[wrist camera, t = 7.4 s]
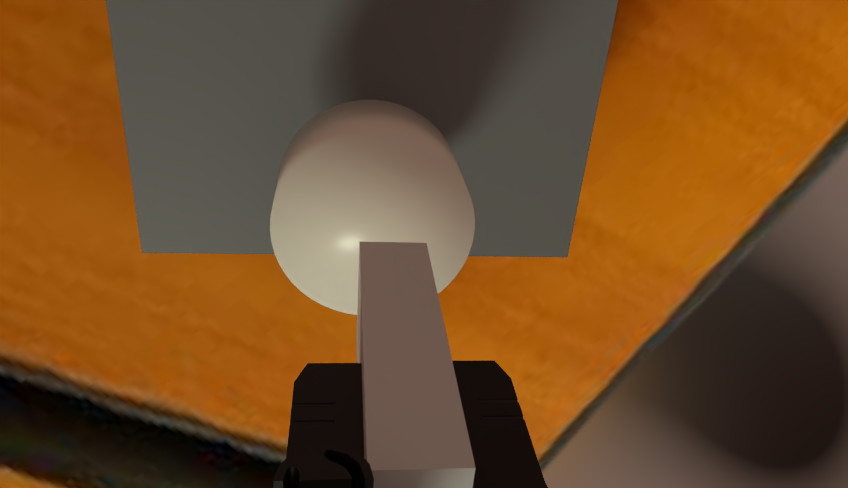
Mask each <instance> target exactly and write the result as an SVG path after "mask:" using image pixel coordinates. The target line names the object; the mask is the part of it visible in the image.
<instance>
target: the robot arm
mask: <svg viewBox="0 0 848 488" xmlns="http://www.w3.org/2000/svg"><path fill="white" fill-rule="evenodd" d="M356 344H357V363H308V364H307V365H306V367H305V368H304V369H303V371H302V372H301V373H300V375H299V376H298V378H297V379H296V380H295V382H294V390H293V400H292V409H291V419H290V428H289V438H288V447H287V457H286V460H285V461H284V462H283V463H282V464H281V465H280V466H279V467H278V470H277V473H276V475H275V478H274V481H273V485H274V488H548V487H547V485H546V483H545V481H544V478H543V475H542V472H541V469H540V466H539V463H538V460H537V457H536V454H535V451H534V448H533V445H532V442H531V438H530V435H529V432H528V429H527V426H526V423H525V420H523V414H522V411H521V408H520V405H519V403H518V402H517V396H516V393H515V390H514V387H513V383H512V380H511V378H510V377H509V376H508V375H507V374H506V373H505V372H504V370H503V369H502V368H501V367H500V366H499V365H498V364H497V363H496V362H495V361H452V357H451V353H450V348H449V344H448V339H447V334H446V330H445V325H444V321H443V316H442V311H441V307H440V302H439V298H438V293H437V289H436V284H435V279H434V275H433V270H432V266H431V261H430V256H429V252H428V247H427V243H413V242H360V243H359V275H358V307H357V339H356Z"/></svg>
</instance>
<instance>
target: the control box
mask: <svg viewBox="0 0 848 488" xmlns="http://www.w3.org/2000/svg"><path fill="white" fill-rule="evenodd" d="M106 4H107V11H108V18H109V25H110V32H111V39H112V46H113V53H114V60H115V67H116V74H117V81H118V88H119V95H120V102H121V109H122V116H123V123H124V130H125V137H126V144H127V151H128V158H129V165H130V172H131V179H132V186H133V193H134V200H135V207H136V214H137V221H138V228H139V235H140V242H141V249H142V253H217V254H275V253H274V250H273V246H272V242H271V235H270V216H271V211H272V206H273V201H274V196H275V191H276V187H277V182H278V177H279V172H280V168H281V163H282V160H283V157H284V154H285V152H286V150H287V148H288V146H289V144H290V142H291V141H292V139H293V138H294V136H295V135H296V134H297V132H298V131H299V130H300V129H301V128H302V127H303V126H304V125H305V124H306V123H307V122H309V121H310V120H311V119H312V118H314V117H315V116H316V115H318V114H320V113H321V112H323V111H325V110H327V109H329V108H331V107H334V106H336V105H339V104H343V103H346V102H351V101H357V100H381V101H388V102H392V103H396V104H400V105H402V106H405V107H407V108H410V109H412V110H413V111H415V112H417V113H419V114H421V115H422V116H423V117H425V118H426V119H427V120H429V121H430V122H431V123H432V124H433V125H434V126H435V127H436V128H437V129H438V130H439V131H440V132H441V134H442V135H443V136H444V137H445V139H446V141H447V142H448V144H449V146H450V148H451V150H452V153H453V155H454V157H455V160H456V162H457V165H458V167H459V170H460V172H461V174H462V177H463V179H464V182H465V184H466V187H467V189H468V191H469V194H470V196H471V200H472V204H473V208H474V216H475V231H474V237H473V243H472V246H471V249H470V252H469V255H468V256H509V257H567V256H568V251H569V246H570V241H571V236H572V231H573V226H574V221H575V216H576V211H577V206H578V201H579V196H580V191H581V186H582V181H583V176H584V171H585V166H586V161H587V156H588V151H589V146H590V141H591V136H592V131H593V126H594V121H595V116H596V111H597V106H598V100H599V95H600V90H601V85H602V80H603V75H604V70H605V65H606V60H607V55H608V50H609V45H610V40H611V35H612V30H613V25H614V20H615V15H616V10H617V5H618V0H106Z"/></svg>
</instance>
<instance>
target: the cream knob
mask: <svg viewBox="0 0 848 488" xmlns="http://www.w3.org/2000/svg"><path fill="white" fill-rule="evenodd" d="M474 231H475V216H474V208H473V204H472V200H471V196H470V194H469V191H468V189H467V187H466V184H465V182H464V179H463V177H462V174H461V172H460V170H459V167H458V165H457V162H456V160H455V157H454V155H453V153H452V150H451V148H450V146H449V144H448V142H447V141H446V139H445V137H444V136H443V135H442V134H441V132H440V131H439V130H438V129H437V128H436V127H435V126H434V125H433V124H432V123H431V122H430V121H429V120H427V119H426V118H425V117H423V116H422V115H421V114H419V113H417V112H415V111H413V110H412V109H410V108H407V107H405V106H402V105H400V104H396V103H392V102H388V101H381V100H357V101H351V102H346V103H343V104H339V105H336V106H334V107H331V108H329V109H327V110H325V111H323V112H321V113H320V114H318V115H316V116H315V117H314V118H312V119H311V120H310V121H309V122H307V123H306V124H305V125H304V126H303V127H302V128H301V129H300V130H299V131H298V132H297V134H296V135H295V136H294V138H293V139H292V141H291V142H290V144H289V146H288V148H287V150H286V152H285V154H284V157H283V160H282V163H281V168H280V172H279V177H278V182H277V187H276V191H275V196H274V201H273V206H272V211H271V216H270V235H271V242H272V246H273V250H274V253H275V256H276V258H277V260H278V263H279V265H280V266H281V268H282V270H283V271H284V273H285V275H286V276H287V277H288V278H289V279H290V281H291V282H292V283H293V284H294V285H295V286H296V287H297V288H298V289H299V290H300V291H301V292H302V293H304V294H305V295H307V296H308V297H309V298H311V299H312V300H314V301H316V302H318V303H319V304H321V305H323V306H326V307H328V308H331V309H333V310H336V311H340V312H343V313H348V314H354V315H357V307H358V275H359V243H360V242H413V243H427V247H428V252H429V256H430V261H431V266H432V270H433V275H434V279H435V284H436V289H437V293H439V292H441V291H442V290H443V289H444V288H445V287H446V286H447V285H449V283H450V282H451V281H452V280H453V279H454V278H455V277H456V275H457V274H458V273H459V271H460V270H461V268H462V267H463V265H464V263H465V261H466V259H467V257H468V255H469V252H470V249H471V246H472V243H473V237H474Z"/></svg>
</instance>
